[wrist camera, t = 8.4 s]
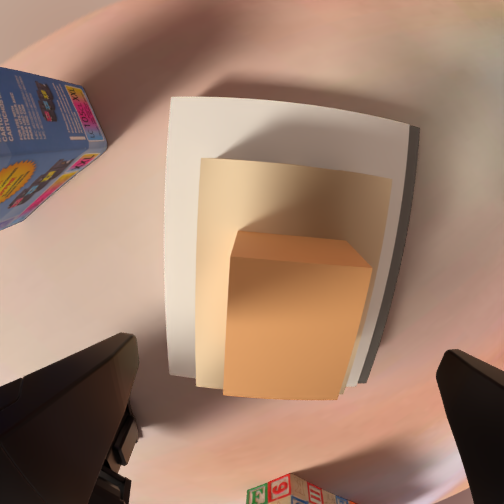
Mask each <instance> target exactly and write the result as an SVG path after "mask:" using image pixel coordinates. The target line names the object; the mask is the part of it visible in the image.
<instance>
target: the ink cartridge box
mask: <svg viewBox="0 0 504 504" xmlns="http://www.w3.org/2000/svg"><path fill="white" fill-rule="evenodd" d="M106 149H107V141H106V138H105V136H104V134H103V131H102V129H101V127H100V124H99V122H98V120H97V118H96V116H95V113H94V111H93V109H92V107H91V104H90V102H89V100H88V98H87V95H86V93H85V91H84V89H83V87H82V86H80V85H75V84H71V83H68V82H64V81H60V80H56V79H52V78H48V77H44V76H39V75H35V74H31V73H26V72H22V71H18V70H13V69H8V68H3V67H0V230H3V229H5V228H7V227H10V226H12V225H15V224H17V223H19V222H22V221H23V220H24V219H26V218H27V217H28V216H29V215H30V214H31V213H32V212H33V211H34V210H35V209H36V208H37V207H38V206H39V205H40V204H42V203H43V202H44V201H45V200H46V199H47V198H48V197H50V196H51V195H52V194H53V193H54V192H55V191H57V190H58V189H59V188H60V187H61V186H63V185H64V184H65V183H66V182H67V181H69V180H70V179H71V178H72V177H73V176H75V175H76V174H77V173H78V172H80V171H81V170H82V169H84V168H85V167H86V166H87V165H89V164H90V163H91V162H92V161H94V160H95V159H96V158H98V157H99V156H100V155H101V154H103V153H104V152H105V151H106Z"/></svg>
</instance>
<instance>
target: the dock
mask: <svg viewBox="0 0 504 504" xmlns="http://www.w3.org/2000/svg"><path fill="white" fill-rule="evenodd" d="M419 133H420V128H418V127H415V126H411V125H410V124H407V123H403V122H399V121H395V120H391V119H386V118H382V117H377V116H373V115H368V114H363V113H358V112H352V111H347V110H341V109H335V108H329V107H322V106H315V105H308V104H300V103H292V102H283V101H273V100H261V99H247V98H228V97H171V104H170V115H169V127H168V140H167V156H166V174H165V201H164V289H165V315H166V334H167V349H168V363H169V375H174V376H181V377H188V378H196V360H195V284H196V243H197V218H198V197H199V179H200V164H201V158H227V159H241V160H248V161H260V162H271V163H287V164H296V165H304V166H310V167H317V168H325V169H332V170H343V171H350V172H357V173H363V174H368V175H373V176H379V177H384V178H389V179H392V187H391V194H390V202H389V208H388V215H387V221H386V227H385V233H384V239H383V244H382V249H381V255H380V260H379V265H378V269H377V274H376V279H375V283H374V288H373V292H372V296H371V300H370V304H369V309H368V313H367V316H366V320H365V324H364V328H363V331H362V335H361V339H360V342H359V346H358V349H357V353H356V356H355V359H354V363H353V366H352V369H351V372H350V375H349V378H348V381H347V384H346V387H352V386H357V383H366V382H367V380H368V377H369V374H370V371H371V368H372V365H373V362H374V359H375V356H376V353H377V350H378V347H379V344H380V341H381V338H382V334H383V331H384V328H385V324H386V321H387V317H388V313H389V310H390V306H391V302H392V299H393V295H394V291H395V287H396V283H397V278H398V274H399V270H400V265H401V261H402V256H403V251H404V246H405V241H406V236H407V230H408V224H409V219H410V212H411V206H412V199H413V192H414V184H415V176H416V167H417V158H418V146H419Z"/></svg>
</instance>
